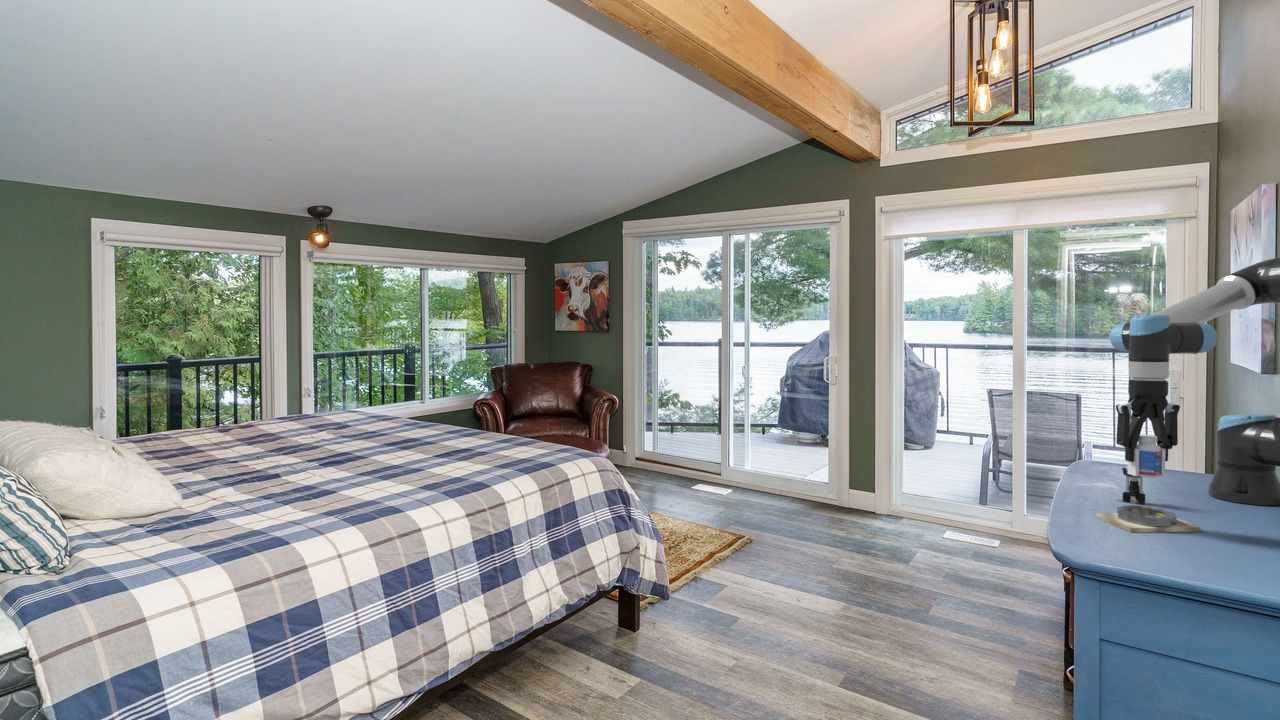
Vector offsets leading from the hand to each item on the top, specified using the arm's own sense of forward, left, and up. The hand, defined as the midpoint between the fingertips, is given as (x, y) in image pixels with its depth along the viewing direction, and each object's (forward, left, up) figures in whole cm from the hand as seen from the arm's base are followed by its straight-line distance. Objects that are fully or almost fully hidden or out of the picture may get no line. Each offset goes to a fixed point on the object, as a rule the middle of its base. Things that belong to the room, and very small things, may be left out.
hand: (1146, 474), depth 156 cm
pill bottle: (0, 0, -1) cm, 1 cm away
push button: (-10, -19, -12) cm, 25 cm away
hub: (0, 0, -12) cm, 12 cm away
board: (0, 0, -12) cm, 12 cm away
